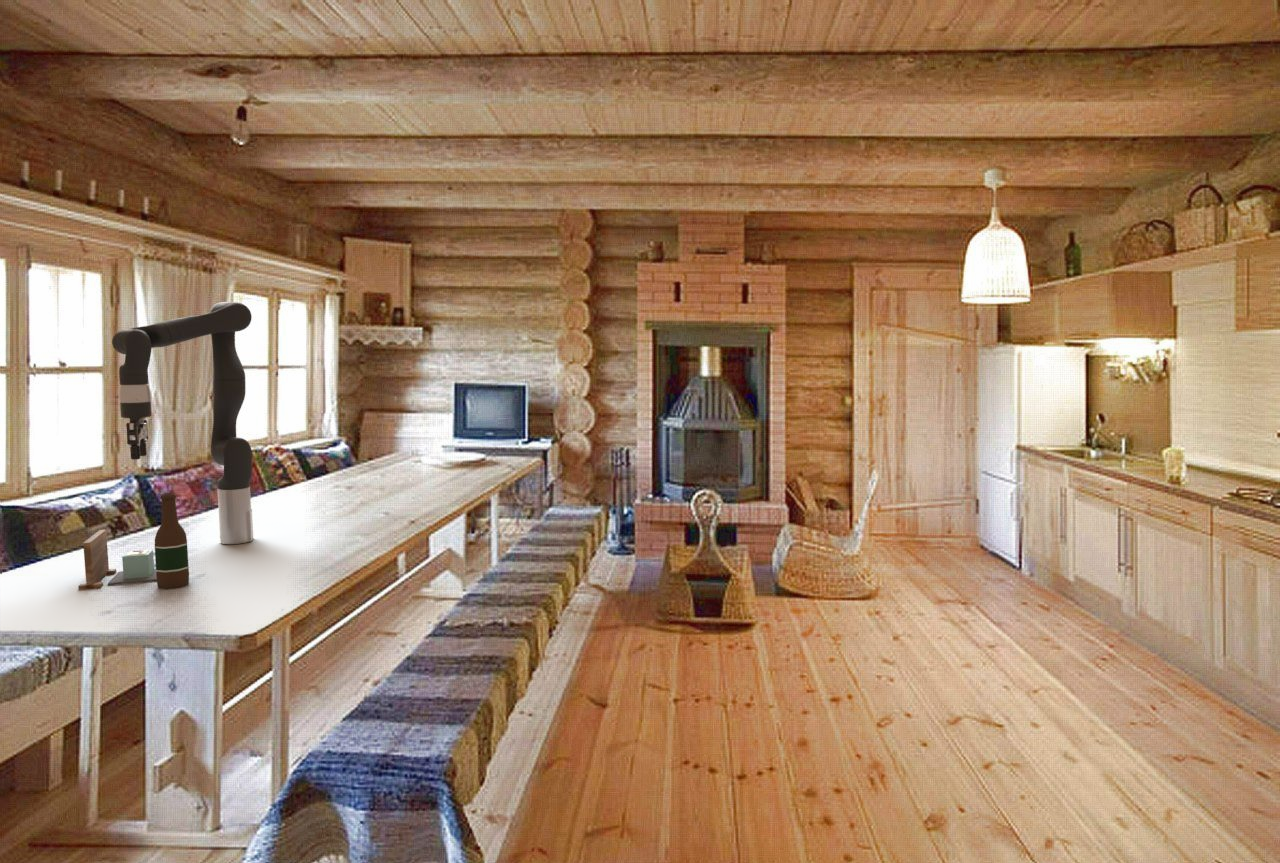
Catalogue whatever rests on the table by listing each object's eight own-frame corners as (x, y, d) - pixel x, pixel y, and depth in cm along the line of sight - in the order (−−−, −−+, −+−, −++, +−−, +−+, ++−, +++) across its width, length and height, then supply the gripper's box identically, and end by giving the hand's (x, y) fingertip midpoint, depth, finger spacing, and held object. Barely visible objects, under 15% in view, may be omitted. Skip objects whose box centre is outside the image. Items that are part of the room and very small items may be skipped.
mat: (168, 569, 232) (168, 567, 232) (160, 580, 220) (160, 578, 220) (118, 573, 228) (118, 571, 227) (107, 585, 216) (107, 583, 216)
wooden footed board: (116, 572, 229) (113, 529, 228) (101, 587, 214) (98, 541, 213) (95, 574, 227) (92, 530, 226) (78, 589, 212) (75, 543, 211)
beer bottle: (165, 581, 220) (159, 491, 217) (195, 580, 220) (190, 490, 218) (150, 590, 212) (144, 496, 210) (182, 589, 213) (176, 496, 210)
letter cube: (154, 571, 228) (152, 548, 227) (149, 576, 222) (148, 553, 222) (129, 573, 226) (127, 550, 225) (123, 578, 220) (122, 555, 220)
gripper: (145, 401, 231) (149, 460, 233) (155, 399, 244) (158, 454, 246) (113, 402, 229) (117, 461, 230) (126, 399, 242) (129, 455, 243)
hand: (139, 457), depth 238 cm, fingers open, 8 cm apart
